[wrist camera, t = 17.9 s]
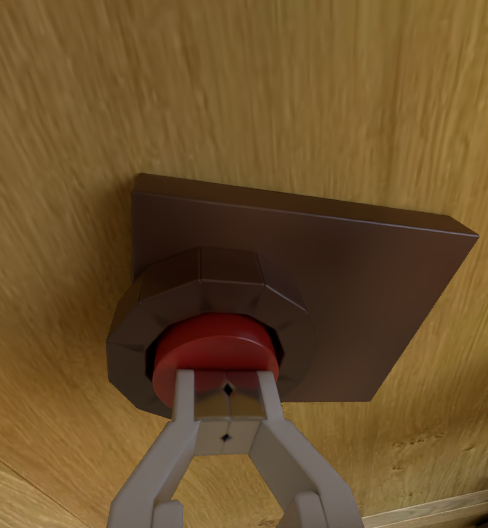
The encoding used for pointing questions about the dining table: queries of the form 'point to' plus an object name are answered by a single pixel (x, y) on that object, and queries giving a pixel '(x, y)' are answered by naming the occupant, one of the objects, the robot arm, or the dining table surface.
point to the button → (211, 348)
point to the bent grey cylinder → (483, 525)
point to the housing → (281, 282)
